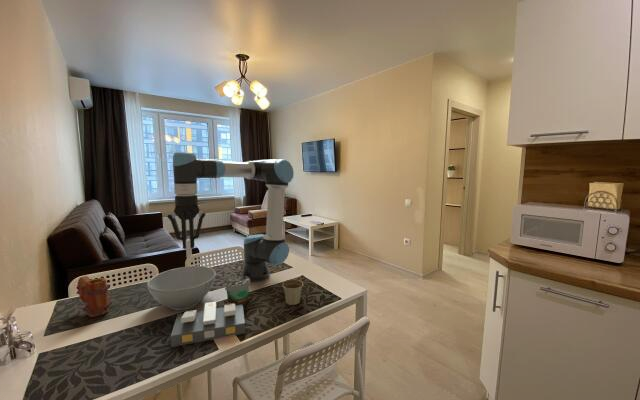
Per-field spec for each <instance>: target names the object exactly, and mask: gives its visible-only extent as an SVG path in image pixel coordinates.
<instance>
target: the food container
mask: <svg viewBox="0 0 640 400" xmlns="http://www.w3.org/2000/svg"><path fill="white" fill-rule="evenodd" d="M250 285H251V281H250V279H249V278H248V277H247V276H246V278H245V279H241V280H237V281H234V283H231V284H230V285H228V284H225V288H224V290H225V291H226V297H227V305H229V304H235V306H236V305H242V304H243V306H245V305H246V304H248V301H249V294H250V293H249V290H250Z"/></svg>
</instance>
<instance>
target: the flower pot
mask: <svg viewBox="0 0 640 400" xmlns="http://www.w3.org/2000/svg"><path fill="white" fill-rule="evenodd" d="M281 284H282V285H281V286H282V287H283V288H282V289H283V290H284V296H285V297H284V298H285V303H286V304H287V305H290V306H293V305H294V306H295V305H298V304H300V301H301V295H302V294H301V293H302V288H303V286H304V282H303V281H302V280H299V279H296V278H295V279H287V280H285V281H283V282H282V283H281Z"/></svg>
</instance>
